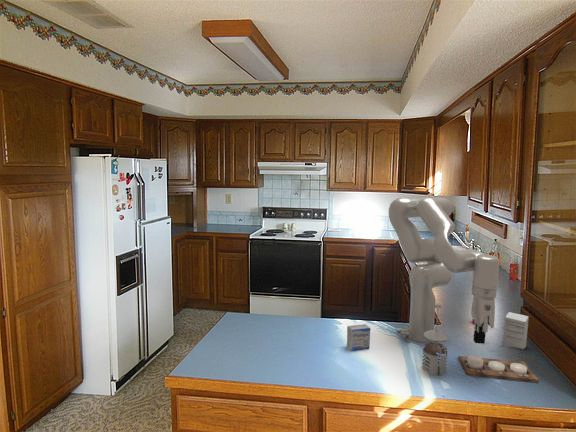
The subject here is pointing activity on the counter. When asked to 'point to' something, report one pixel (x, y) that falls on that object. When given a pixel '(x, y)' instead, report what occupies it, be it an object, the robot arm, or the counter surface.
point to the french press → (435, 350)
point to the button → (496, 366)
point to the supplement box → (515, 330)
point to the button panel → (498, 374)
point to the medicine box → (358, 337)
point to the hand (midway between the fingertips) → (478, 342)
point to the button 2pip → (518, 368)
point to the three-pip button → (474, 362)
